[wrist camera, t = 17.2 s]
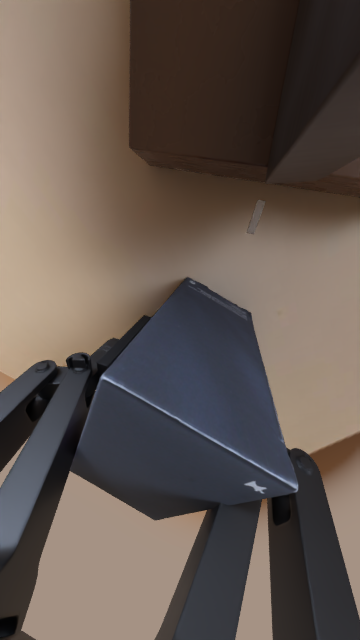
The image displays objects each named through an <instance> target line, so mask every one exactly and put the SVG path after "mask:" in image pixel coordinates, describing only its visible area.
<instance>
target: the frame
mask: <svg viewBox="0 0 360 640" xmlns="http://www.w3.org/2000/svg"><path fill="white" fill-rule="evenodd" d="M359 157H360V0H300V2H299V7H298V12H297V17H296V23H295V28H294V33H293V38H292V43H291V48H290V54H289V59H288V64H287V69H286V74H285V79H284V85H283V90H282V95H281V100H280V105H279V110H278V116H277V121H276V126H275V131H274V136H273V141H272V147H271V152H270V157H269V162H268V167H267V172H266V177H265V183H266V184H273V183H289V182H306V181H318V180H320V179H322V178H324V177H326V176H327V175H329V174H331V173H333V172H334V171H336V170H338V169H340V168H341V167H343V166H345V165H347V164H348V163H350V162H352V161H353V160H355V159H357V158H359Z"/></svg>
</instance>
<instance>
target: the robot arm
mask: <svg viewBox="0 0 360 640" xmlns="http://www.w3.org/2000/svg"><path fill="white" fill-rule="evenodd" d="M150 319H151V317H148V316H145V315H144V316H143V317H142V318H141V319H140V320H139V321H138V322H137V323H136V324H135V325H134V326H133V327H132V328H131V329H130V330H129V331H128V332H127V333H126V334H125V335H124V336H123V337H122V338H121V339H120V340H119V339H116V338H112V339H110V340H108V341H107V342H106V343H104V344H103V346H101V347H100V348H99V349H98V350H97V351H96V352H94V353H93V354H92V355H91V356H89V355H88V354H87V353H75V354H72V355H71V356H69V357H68V358H67V359H66V363H67V366H68V367H59V366H57V365H56V363H55V362H54V361H52V360H45V361H41V362H38V363H36V364H34V365H33V366H31V367H30V368H29V369H28V370H27V371H25V372H24V373H23V374H22V375H21V376H19V377H18V378H17V379H16V380H15V381H14V382H12V383H11V384H10V385H9V386H7V387H6V388H5V389H4V390H2V392H0V472H1V471H2V470H3V468H4V467H5V466H6V465H7V463H8V462H9V461H10V460H11V458H12V457H13V456H14V455H15V454H16V452H17V451H18V450H19V449H20V447H21V446H22V445H23V444H24V443H25V441H26V440H27V439H28V438H29V439H28V441H27V442H26V444H25V446H24V448H23V449H22V451H21V453H20V454H19V456H18V458H17V460H16V461H15V463H14V465H13V467H12V469H11V470H10V472H9V474H8V475H7V477H6V479H5V481H4V482H3V484H2V486H1V488H0V640H36V639H34V638H32V637H31V636H29V635H28V634H26V633H25V632H23V631H21V628H22V625H23V622H24V619H25V616H26V613H27V610H28V607H29V604H30V601H31V598H32V594H33V591H34V588H35V584H36V579H37V575H38V566H39V561H40V558H41V554H42V551H43V548H44V545H45V542H46V539H47V536H48V533H49V530H50V527H51V524H52V522H53V519H54V516H55V513H56V510H57V507H58V504H59V501H60V498H61V495H62V492H63V489H64V486H65V483H66V480H67V477H68V474H69V471H70V468H71V465H72V462H73V459H74V456H75V452H76V449H77V447H78V444H79V441H80V438H81V435H82V432H83V429H84V426H85V423H86V420H87V416H88V413H89V410H90V407H91V404H92V401H93V398H94V394H95V392H96V391H95V390H96V389H97V386H98V383H99V379H100V377H101V375H102V374H103V373H104V372H105V371H106V370H107V369H108V368H109V367H110V366H111V365H112V363H113V362H114V361H115V360H116V359H117V358H118V356H119V355H120V354H121V353H122V352H123V351H124V349H125V348H126V347H127V346H128V345H129V344H130V342H131V341H132V340H133V339H134V338H135V336H136V335H137V334H138V333H139V332H140V331H141V330H142V329H143V327H144V326H145V325H146V324H147V323H148V322H149V320H150ZM29 436H30V437H29ZM286 449H287V453H288V455H289V458H290V460H291V463H292V465H293V468H294V472H295V475H296V479H297V482H298V490H297V492H295V493H291V494H287V495H282V496H277V497H271V498H267V504H268V531H269V555H270V580H271V604H272V605H271V606H272V630H273V640H360V619H359V615H358V611H357V608H356V604H355V601H354V597H353V593H352V589H351V585H350V582H349V578H348V574H347V571H346V567H345V563H344V560H343V556H342V552H341V549H340V545H339V541H338V537H337V534H336V530H335V526H334V523H333V519H332V515H331V512H330V508H329V504H328V500H327V497H326V493H325V489H324V485H323V482H322V478H321V475H320V471H319V469H318V467H317V465H316V463H315V462H314V460H313V459H312V458H311V457H310V456H309V455H308V454H307V453H306V452H304V451H303V450H301V449H298V448H294V449H291V450H289V449H288V448H286ZM261 502H262V499H261V500H255V501H251V502H245V503H239V504H235V505H226V504H223V503H220V504H219V505H217V506H216V507H215V508H214V509H209V510H207V512H206V515H205V517H204V519H203V522H202V524H201V527H200V530H199V532H198V535H197V537H196V540H195V543H194V545H193V547H192V550H191V552H190V555H189V558H188V560H187V562H186V565H185V568H184V570H183V573H182V575H181V578H180V580H179V583H178V585H177V588H176V590H175V593H174V595H173V598H172V600H171V603H170V605H169V608H168V611H167V613H166V616H165V618H164V621H163V623H162V626H161V628H160V630H159V632H158V634H157V636H156V638H155V640H235V637H236V632H237V627H238V621H239V616H240V611H241V605H242V601H243V595H244V590H245V585H246V580H247V575H248V569H249V564H250V559H251V553H252V549H253V544H254V538H255V533H256V528H257V523H258V517H259V512H260V507H261Z"/></svg>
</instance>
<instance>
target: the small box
mask: <svg viewBox="0 0 360 640" xmlns="http://www.w3.org/2000/svg"><path fill="white" fill-rule="evenodd" d="M70 471H71V472H73V473H75V474H76V475H79V476H80V477H82V478H83V479H85V480H87V481H88V482H90V483H92V484H94V485H96V486H97V487H99V488H101V489H102V490H104V491H106V492H107V493H109V494H111V495H112V496H114V497H116V498H118V499H119V500H121V501H123V502H124V503H126V504H128V505H129V506H131V507H133V508H135V509H136V510H138V511H140V512H142V513H143V514H145V515H147V516H148V517H150V518H152V519H153V520H160V519H164V518H169V517H174V516H179V515H184V514H188V513H194V512H199V511H204V510H209V509H214V508H215V507H216V506H217V505H219V504H220V503H223V504H226V505H235V504H239V503H245V502H251V501H255V500H261V499H266V498H271V497H277V496H282V495H287V494H291V493H295V492H297V490H298V482H297V479H296V475H295V472H294V468H293V465H292V463H291V460H290V458H289V455H288V453H287V449H286V446H285V442H284V438H283V435H282V432H281V428H280V424H279V421H278V416H277V412H276V408H275V405H274V402H273V397H272V394H271V390H270V387H269V383H268V379H267V375H266V372H265V367H264V364H263V361H262V357H261V353H260V350H259V346H258V342H257V338H256V335H255V331H254V327H253V322H252V316H251V313H250V312H248V311H247V310H245V309H243V308H240V307H238V306H237V305H236V304H233V303H232V302H230V301H228V300H226V299H225V298H223V297H221V296H220V295H218V294H217V293H215V292H213V291H211V290H210V289H208V287H207V286H204V285H203V284H201V283H198V282H196V281H194V280H192V279H191V278H189V277H187V278H186V279H185V280H184V281H183V282H182V283H181V284H180V285H179V287H178V288H177V289H176V290H175V291H174V292H173V294H172V295H171V296H170V297H169V298H168V300H167V301H166V302H165V303H164V304H163V305H162V306H161V308H160V309H159V310H158V311H157V312H156V313H155V315H154V316H153V317H152V318H151V319H150V320H149V322H148V323H147V324H146V325H145V326H144V327H143V329H142V330H141V331H140V332H139V333H138V334H137V335H136V336H135V338H134V339H133V340H132V341H131V342H130V344H129V345H128V346H127V347H126V348H125V349H124V351H123V352H122V353H121V354H120V355H119V356H118V358H117V359H116V360H115V361H114V362H113V363H112V365H111V366H110V367H109V368H108V369H107V370H106V371H105V372H104V373H103V374H102V375H101V377H100V379H99V383H98V386H97V389H96V392H95V394H94V398H93V401H92V404H91V407H90V410H89V413H88V416H87V420H86V423H85V426H84V429H83V432H82V435H81V438H80V441H79V444H78V447H77V449H76V452H75V456H74V459H73V462H72V465H71V468H70Z"/></svg>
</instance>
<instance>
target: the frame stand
mask: <svg viewBox="0 0 360 640" xmlns="http://www.w3.org/2000/svg"><path fill="white" fill-rule="evenodd" d="M299 2H300V0H130V104H129V147H130V149H132V150H133V151H134V152H135V153H136V154H137V155H138V156H140V157H141V158H142V159H143V160H144V161H145V162H147V163H148V164H149V165H152V166H158V167H165V168H171V169H178V170H185V171H191V172H198V173H204V174H211V175H217V176H224V177H231V178H237V179H244V180H250V181H257V182H264V183H265V177H266V172H267V167H268V162H269V157H270V152H271V147H272V141H273V136H274V131H275V126H276V121H277V116H278V110H279V105H280V100H281V95H282V90H283V85H284V79H285V74H286V69H287V64H288V59H289V54H290V48H291V43H292V38H293V33H294V28H295V23H296V17H297V12H298V7H299ZM273 184H277V185H283V186H290V187H297V188H303V189H310V190H316V191H323V192H330V193H336V194H343V195H349V196H356V197H360V157H359V158H357V159H355V160H353V161H352V162H350V163H348V164H347V165H345V166H343V167H341V168H340V169H338V170H336V171H334V172H333V173H331V174H329V175H327V176H326V177H324V178H322V179H320V180H318V181H306V182H289V183H273ZM264 204H265V201H262V200H257V203H256V206H255V209H254V212H253V215H252V218H251V221H250V224H249V227H248V230H247V233H250V234H254V232H255V229H256V227H257V224H258V221H259V218H260V215H261V213H262V210H263V207H264Z"/></svg>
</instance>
